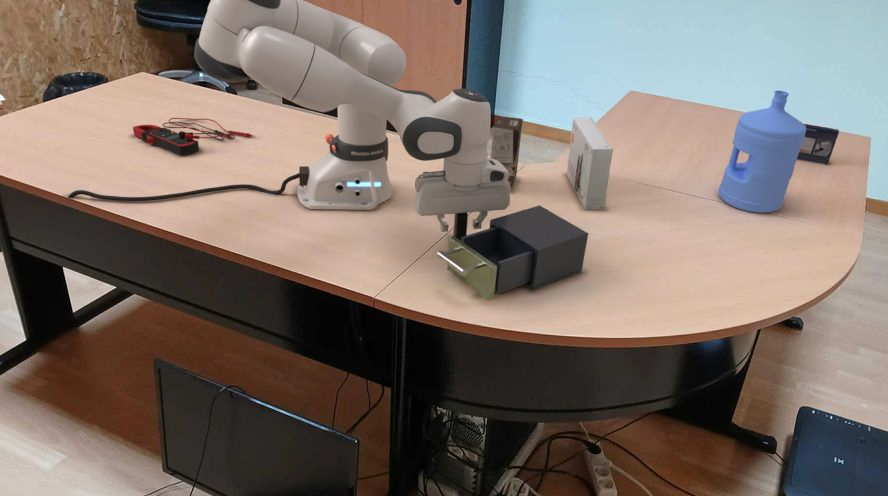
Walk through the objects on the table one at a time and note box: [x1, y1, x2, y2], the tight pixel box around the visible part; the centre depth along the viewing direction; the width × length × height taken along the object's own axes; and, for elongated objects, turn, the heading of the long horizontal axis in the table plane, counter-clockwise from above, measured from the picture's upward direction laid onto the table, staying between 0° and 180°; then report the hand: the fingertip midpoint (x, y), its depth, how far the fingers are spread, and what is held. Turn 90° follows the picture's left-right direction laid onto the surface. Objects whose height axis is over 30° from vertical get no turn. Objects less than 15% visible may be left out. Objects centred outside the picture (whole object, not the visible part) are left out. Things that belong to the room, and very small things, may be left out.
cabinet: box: [488, 205, 589, 291], centre depth 150 cm, size 14×15×9 cm
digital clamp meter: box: [132, 117, 254, 157], centre depth 199 cm, size 23×4×25 cm
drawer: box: [436, 227, 535, 302], centre depth 143 cm, size 17×13×7 cm
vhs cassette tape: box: [797, 123, 840, 165], centre depth 213 cm, size 18×3×10 cm, turn 68°
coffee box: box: [490, 116, 524, 193], centre depth 183 cm, size 9×6×16 cm
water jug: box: [718, 90, 806, 214], centre depth 180 cm, size 16×16×28 cm
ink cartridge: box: [452, 213, 469, 241], centre depth 157 cm, size 5×2×8 cm, turn 5°
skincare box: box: [566, 117, 614, 211], centre depth 182 cm, size 21×5×16 cm, turn 5°
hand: (460, 229), depth 157 cm, fingers open, 6 cm apart
